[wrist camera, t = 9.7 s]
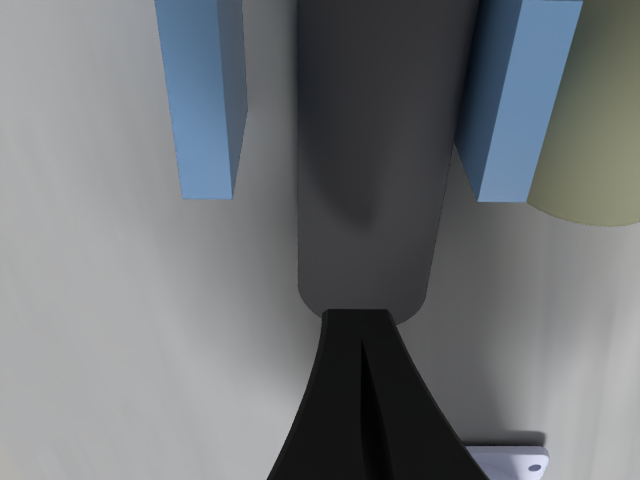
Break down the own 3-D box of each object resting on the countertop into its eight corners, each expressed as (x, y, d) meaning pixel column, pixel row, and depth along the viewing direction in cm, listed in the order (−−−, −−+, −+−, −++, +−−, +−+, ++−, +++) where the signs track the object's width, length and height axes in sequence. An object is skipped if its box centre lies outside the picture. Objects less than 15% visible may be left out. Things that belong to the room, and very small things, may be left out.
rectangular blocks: (935, 120, 16) (1090, 207, 13) (208, 110, 15) (182, 199, 12) (1052, -45, 13) (1281, 14, 10) (190, -63, 13) (153, -7, 10)
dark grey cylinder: (392, 233, 19) (449, 311, 16) (281, 256, 18) (323, 344, 15) (439, -146, 13) (545, -119, 10) (274, -144, 12) (342, -114, 9)
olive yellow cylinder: (631, 151, 16) (681, 232, 13) (495, 142, 16) (517, 220, 14) (731, -103, 12) (829, -65, 10) (554, -111, 13) (600, -76, 10)
